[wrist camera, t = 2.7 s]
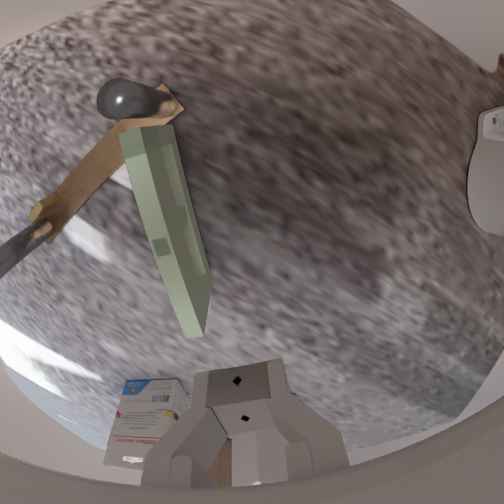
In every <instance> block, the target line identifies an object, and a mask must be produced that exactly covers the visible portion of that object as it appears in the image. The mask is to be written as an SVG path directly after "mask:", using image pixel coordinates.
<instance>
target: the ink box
mask: <svg viewBox="0 0 504 504" xmlns="http://www.w3.org/2000/svg"><path fill="white" fill-rule="evenodd" d="M188 402H189V397H188V395H187V394H186V392H185V390H184V388H183V387H182V385H181V383H180V382H179V380H178V379H167V380H147V381H127V382H126V385H125V388H124V391H123V394H122V397H121V401H120V404H119V407H118V410H117V413H116V416H115V420H114V423H113V426H112V430H111V433H110V436H109V440H108V443H107V445H108V447H107V450H106V455H105V459H104V466H106V467H115V468H121V469H129V470H139V471H143V468H144V462H145V457H146V454H147V453H148V452H149V451H150V450H151V448H152V447H153V446H154V445H155V444H156V443H157V442H158V441H159V440H160V439H161V437H162V436H163V435H164V434H165V433H166V432H167V431H168V430H169V429H170V427H171V426H172V425H173V424H174V423H175V422H176V421H177V420H178V418H179V417H180V416H181V415H182V414H183V413H184V412H185V411H186V410H187V409H188ZM123 460H124V461H123ZM129 462H135V463H133V464H131V463H129Z"/></svg>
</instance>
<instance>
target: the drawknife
mask: <svg viewBox="0 0 504 504" xmlns="http://www.w3.org/2000/svg"><path fill="white" fill-rule="evenodd" d="M97 107H98V110H99V112H100V113H101V115H103V116H104V117H105V118H108V119H121V120H120V121H119V122H118V123H117V124H116V125H115V126H114V127H113V128H112V129H111V130H110V131H109V132H108V133H107V134H106V135H105V136H104V137H103V138H102V139H101V140H100V141H99V142H98V143H97V144H96V145H95V147H94V148H93V149H92V150H91V151H90V152H89V153H88V154H87V155H86V156H85V157H84V159H83V160H82V161H81V162H80V163H79V164H78V165H77V167H76V168H75V169H74V170H73V171H72V172H71V174H70V175H69V176H68V177H67V178H66V180H65V181H64V182H63V183H62V184H61V186H60V187H59V188H58V189H57V191H56V192H55V193H54V194H52V195H50V196H48V197H46V198H44V199H43V200H41V201H39V202H38V203H37V205H36V206H35V208H34V209H33V210H32V212H31V213H30V215H29V216H28V217H29V219H30V220H31V221H32V224H31V225H30V226H28V227H27V228H25V229H24V230H22V231H21V232H19V233H18V234H16V235H15V236H14V237H12V238H11V239H9V240H8V241H7V242H5V243H4V244H2V245H1V246H0V279H1V278H2V277H3V276H4V275H5V274H6V273H7V272H8V271H10V270H11V269H12V268H13V267H14V266H15V265H16V264H18V263H19V262H20V261H21V260H22V259H23V258H25V257H26V256H27V255H28V254H29V253H31V252H32V251H33V250H34V249H36V248H37V247H38V246H39V245H41V244H42V243H43V242H44V241H45V242H46V243H47V245H49V244H50V243H51V242H52V241H53V240H54V239H55V237H56V236H57V235H58V234H59V232H60V231H61V230H62V229H63V228H64V226H65V225H66V224H67V223H68V222H69V221H70V219H71V218H72V217H73V216H74V215H75V214H76V212H77V211H78V210H79V209H80V208H81V207H82V206H83V205H84V204H85V202H86V201H87V200H88V199H89V198H90V197H91V196H92V195H93V194H94V193H95V192H96V191H97V190H98V189H99V187H100V186H101V185H102V184H103V183H104V182H105V181H106V180H107V179H108V178H109V177H110V176H111V175H112V174H113V173H114V172H115V171H116V170H117V169H118V168H119V167H120V166H121V165H122V164H123V163H125V159H124V155H123V151H122V147H121V143H120V138H119V134H121V133H124V132H127V131H130V130H132V129H135V128H139V127H146V126H156V125H167V124H168V123H170V122H171V121H172V120H173V119H174V118H176V117H177V116H178V115H179V114H181V113H182V112H183V111H184V110H186V109H185V108H184V107H183V106H182V104H181V103H180V102H179V101H178V99H177V98H176V97H175V96H174V94H173V93H172V92H171V91H170V90H169V88H168V87H167V86H166V85H165V84H164V83H162V84H161V85H160V86H158V87H157V88H156V89H155V88H152V87H149V86H146V85H143V84H140V83H137V82H133V81H130V80H127V79H123V78H115V79H112V80H110V81H108V82H106V83H105V84H104V85H103V86H102V88H101V89H100V91H99V93H98V96H97Z"/></svg>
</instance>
